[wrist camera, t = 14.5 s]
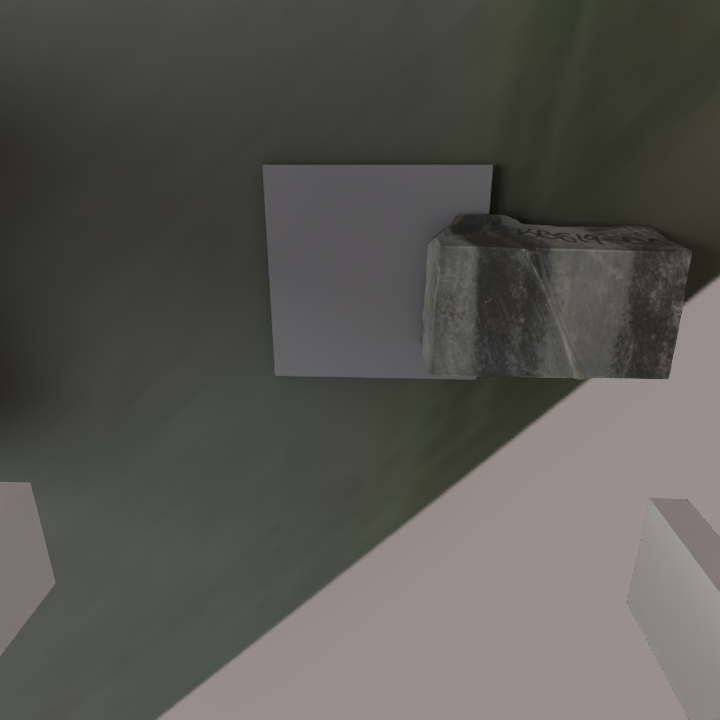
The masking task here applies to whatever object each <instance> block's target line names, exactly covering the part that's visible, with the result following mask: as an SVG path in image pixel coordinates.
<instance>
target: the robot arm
mask: <svg viewBox="0 0 720 720" xmlns="http://www.w3.org/2000/svg"><path fill="white" fill-rule="evenodd" d="M54 584H55V580H54V576H53V572H52V568H51V564H50V560H49V556H48V552H47V548H46V544H45V540H44V536H43V532H42V528H41V524H40V520H39V516H38V512H37V508H36V504H35V500H34V496H33V492H32V488H31V484H30V483H24V482H0V655H1V654H2V653H3V652H4V650H5V649H6V648H7V646H8V645H9V644H10V642H11V641H12V640H13V638H14V637H15V636H16V634H17V633H18V632H19V630H20V629H21V628H22V627H23V625H24V624H25V623H26V621H27V620H28V619H29V617H30V616H31V615H32V613H33V612H34V611H35V609H36V608H37V607H38V605H39V604H40V603H41V602H42V600H43V599H44V598H45V596H46V595H47V594H48V592H49V591H50V590H51V588H52V587H53V586H54ZM627 603H628V605H629V607H630V609H631V611H632V613H633V615H634V617H635V619H636V621H637V623H638V625H639V626H640V628H641V630H642V632H643V634H644V636H645V638H646V640H647V642H648V644H649V645H650V647H651V649H652V651H653V653H654V655H655V657H656V659H657V661H658V663H659V665H660V666H661V668H662V670H663V672H664V674H665V676H666V678H667V680H668V682H669V684H670V686H671V687H672V689H673V691H674V693H675V695H676V697H677V699H678V701H679V703H680V705H681V707H682V708H683V710H684V712H685V714H686V716H687V718H688V720H720V537H719V536H718V534H717V533H716V532H715V531H714V530H713V529H712V527H711V526H710V525H709V524H708V523H707V522H706V520H705V519H704V518H703V517H702V516H701V514H700V513H699V512H698V511H697V510H696V509H695V507H694V506H693V505H692V504H691V503H690V502H689V500H688V499H660V498H650V499H649V503H648V508H647V512H646V517H645V522H644V526H643V531H642V535H641V539H640V544H639V549H638V554H637V558H636V562H635V567H634V572H633V576H632V581H631V585H630V590H629V594H628V599H627Z"/></svg>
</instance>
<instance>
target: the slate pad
mask: <svg viewBox="0 0 720 720" xmlns="http://www.w3.org/2000/svg"><path fill="white" fill-rule="evenodd" d="M262 169H263V185H264V202H265V218H266V234H267V251H268V267H269V284H270V300H271V316H272V333H273V349H274V365H275V376H311V377H364V378H417V379H469V380H476V376H434V375H431V374H429V371H428V369H427V366H426V364H425V362H424V358H423V356H422V352H421V346H422V345H421V343H420V341H419V340H420V337H421V319H422V310H423V306H424V295H425V289H426V261H427V244H428V243H429V242H430V241H431V240H432V239H433V238H434V236H436V235H437V234H438V233H439V232H440V231H441V230H442V229H444V228H445V227H447V226H449V224H450V223H451V222H452V221H453V218H454V217H455V216H456V215H457V214H489V211H490V198H491V185H492V173H493V165H492V164H264V165H262Z"/></svg>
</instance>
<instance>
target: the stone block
mask: <svg viewBox="0 0 720 720" xmlns="http://www.w3.org/2000/svg"><path fill="white" fill-rule="evenodd" d="M691 257H692V251H691V250H689V249H687V248H685V247H682V246H680V245H678V244H676V243H674V242H672V241H669V240H668V239H666V238H664V237H663V235H661V234H659V233H658V232H657V231H656V230H654V229H652V228H649V227H647V226H630V225H622V226H610V227H605V226H577V227H557V226H550V225H531V224H520V223H519V222H518V220H516V219H512V218H510V217H508V216H505V215H489V214H457V215H456V216H455V217H454V218H453V221H452V222H451V223H450V224H449V226H447V227H445V228H444V229H442V230H441V231H440V232H439V233H438V234H437V235H436V236H434V238H433V239H432V240H431V241H430V242H429V243H428V244H427V261H426V289H425V295H424V306H423V310H422V319H421V337H420V340H419V341H420V343H421V345H422V346H421V352H422V356H423V358H424V362H425V364H426V366H427V369H428V371H429V374H431V375H434V376H484V377H487V376H504V377H543V378H576V379H579V380H581V379H586V378H588V377H589V378H641V379H668V377H669V373H670V369H671V363H672V358H673V353H674V349H675V344H676V340H677V335H678V330H679V323H680V318H681V314H682V308H683V302H684V295H685V288H686V282H687V276H688V270H689V266H690V262H691Z"/></svg>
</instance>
